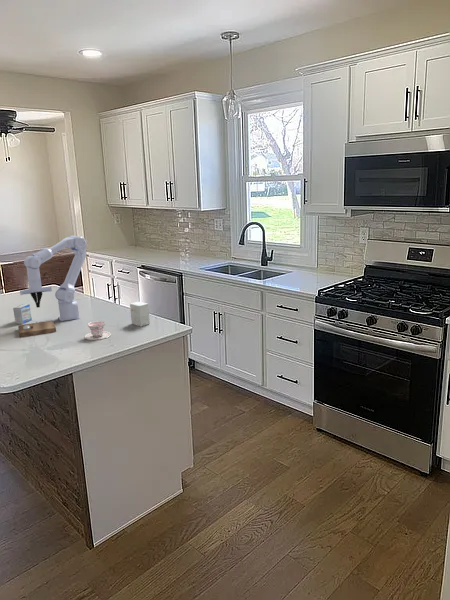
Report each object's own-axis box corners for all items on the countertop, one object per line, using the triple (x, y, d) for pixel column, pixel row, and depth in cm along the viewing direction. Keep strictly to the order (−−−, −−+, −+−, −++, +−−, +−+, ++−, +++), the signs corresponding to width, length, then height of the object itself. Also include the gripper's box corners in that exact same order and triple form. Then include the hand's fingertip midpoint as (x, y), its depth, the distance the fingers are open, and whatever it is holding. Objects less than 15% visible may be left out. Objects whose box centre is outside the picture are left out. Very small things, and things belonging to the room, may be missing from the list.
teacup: (83, 334, 217) (82, 321, 215) (109, 331, 221) (108, 318, 220) (85, 342, 206) (84, 328, 205) (113, 338, 210) (111, 325, 209)
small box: (150, 324, 230) (148, 303, 227) (141, 326, 226) (139, 305, 223) (140, 321, 235) (138, 301, 232) (131, 323, 231) (129, 303, 228)
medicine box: (22, 324, 236) (20, 307, 234) (15, 324, 237) (12, 307, 235) (32, 319, 243) (29, 303, 241) (24, 319, 244) (22, 303, 242)
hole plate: (53, 324, 234) (52, 320, 234) (56, 331, 222) (55, 327, 221) (18, 329, 227) (18, 325, 227) (20, 337, 215) (19, 333, 215)
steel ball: (22, 326, 223) (30, 326, 225) (22, 333, 222) (30, 333, 224) (23, 324, 220) (31, 324, 222) (23, 331, 219) (31, 331, 221)
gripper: (19, 283, 221) (23, 310, 225) (51, 280, 228) (54, 306, 231) (18, 281, 227) (22, 307, 231) (49, 277, 234) (52, 303, 237)
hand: (38, 307), depth 231 cm, fingers closed
